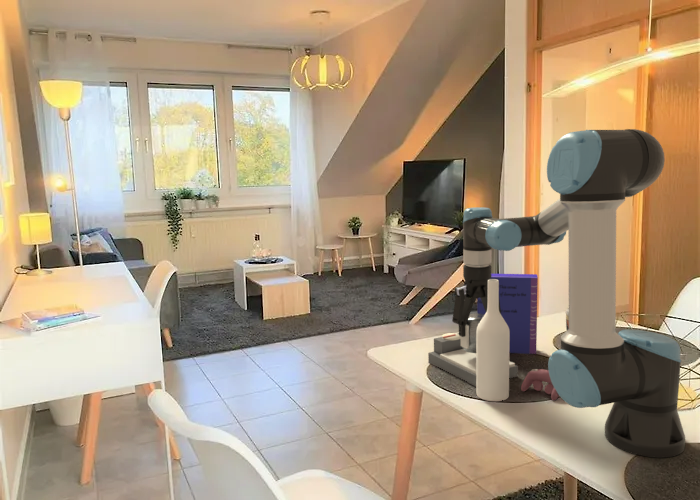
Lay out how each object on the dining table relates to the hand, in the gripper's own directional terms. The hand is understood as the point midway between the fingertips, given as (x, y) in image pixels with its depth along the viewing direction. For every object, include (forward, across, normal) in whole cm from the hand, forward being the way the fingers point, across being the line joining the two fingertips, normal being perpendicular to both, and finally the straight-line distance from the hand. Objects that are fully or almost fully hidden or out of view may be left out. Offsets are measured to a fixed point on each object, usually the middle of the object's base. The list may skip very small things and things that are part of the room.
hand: (477, 344), depth 161 cm
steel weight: (+1, 0, 0) cm, 1 cm away
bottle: (+8, +7, +14) cm, 18 cm away
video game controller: (+8, -4, +20) cm, 22 cm away
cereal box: (+8, -19, -9) cm, 23 cm away
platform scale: (+8, 0, -2) cm, 8 cm away
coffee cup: (+8, -40, +2) cm, 41 cm away
